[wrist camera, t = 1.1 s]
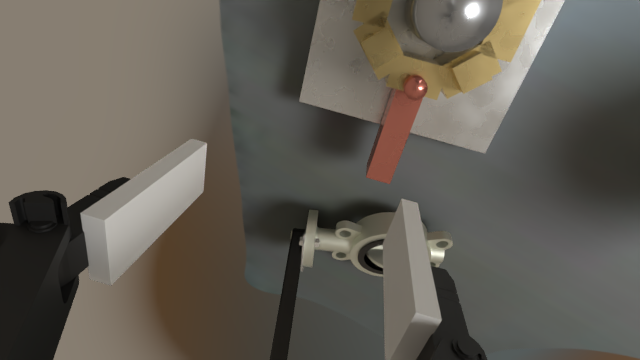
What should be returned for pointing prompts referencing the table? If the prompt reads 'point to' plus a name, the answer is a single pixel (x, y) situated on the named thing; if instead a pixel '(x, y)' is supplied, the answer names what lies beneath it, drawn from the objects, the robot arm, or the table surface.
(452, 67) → the yellow valve with lever
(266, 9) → the table surface
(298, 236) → the butterfly valve
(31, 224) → the robot arm
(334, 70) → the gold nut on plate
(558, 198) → the table surface
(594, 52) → the table surface
